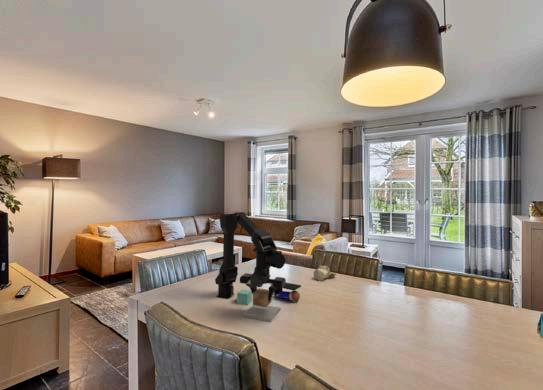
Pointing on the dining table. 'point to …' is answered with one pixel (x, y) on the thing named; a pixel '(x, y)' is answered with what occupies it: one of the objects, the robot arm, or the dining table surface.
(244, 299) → the teal block
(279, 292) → the figurine character
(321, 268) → the ceramic sculpture
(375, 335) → the dining table surface
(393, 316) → the dining table surface
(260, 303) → the walnut block
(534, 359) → the dining table surface
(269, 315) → the base plate
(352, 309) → the dining table surface
